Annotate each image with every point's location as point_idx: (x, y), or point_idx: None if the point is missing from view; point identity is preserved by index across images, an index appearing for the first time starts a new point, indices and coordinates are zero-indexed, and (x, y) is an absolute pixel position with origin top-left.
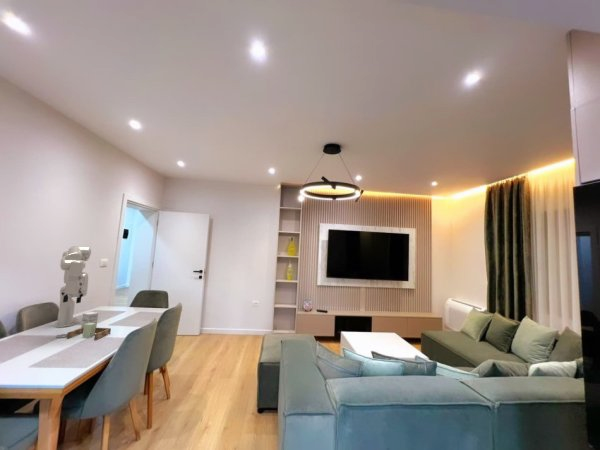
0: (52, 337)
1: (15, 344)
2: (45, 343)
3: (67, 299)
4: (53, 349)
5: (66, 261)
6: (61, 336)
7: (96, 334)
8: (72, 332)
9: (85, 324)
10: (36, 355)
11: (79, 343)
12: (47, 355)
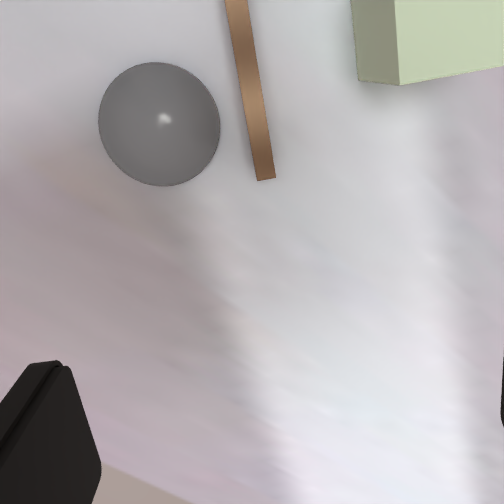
0: (104, 183)
1: None
2: (215, 313)
3: (43, 426)
4: (391, 379)
5: None
6: (172, 155)
7: None
8: (266, 126)
9: (415, 76)
10: (386, 472)
11: (469, 228)
12: (448, 455)
